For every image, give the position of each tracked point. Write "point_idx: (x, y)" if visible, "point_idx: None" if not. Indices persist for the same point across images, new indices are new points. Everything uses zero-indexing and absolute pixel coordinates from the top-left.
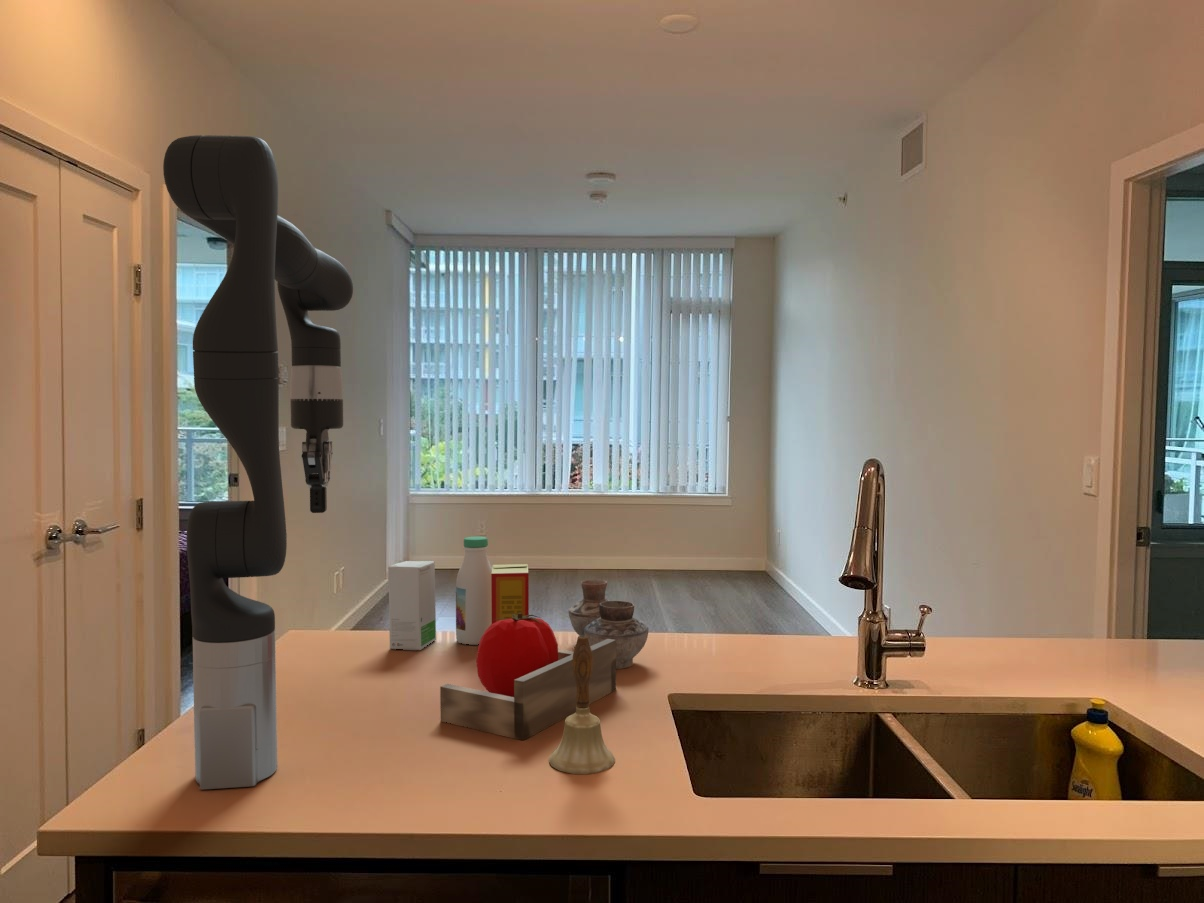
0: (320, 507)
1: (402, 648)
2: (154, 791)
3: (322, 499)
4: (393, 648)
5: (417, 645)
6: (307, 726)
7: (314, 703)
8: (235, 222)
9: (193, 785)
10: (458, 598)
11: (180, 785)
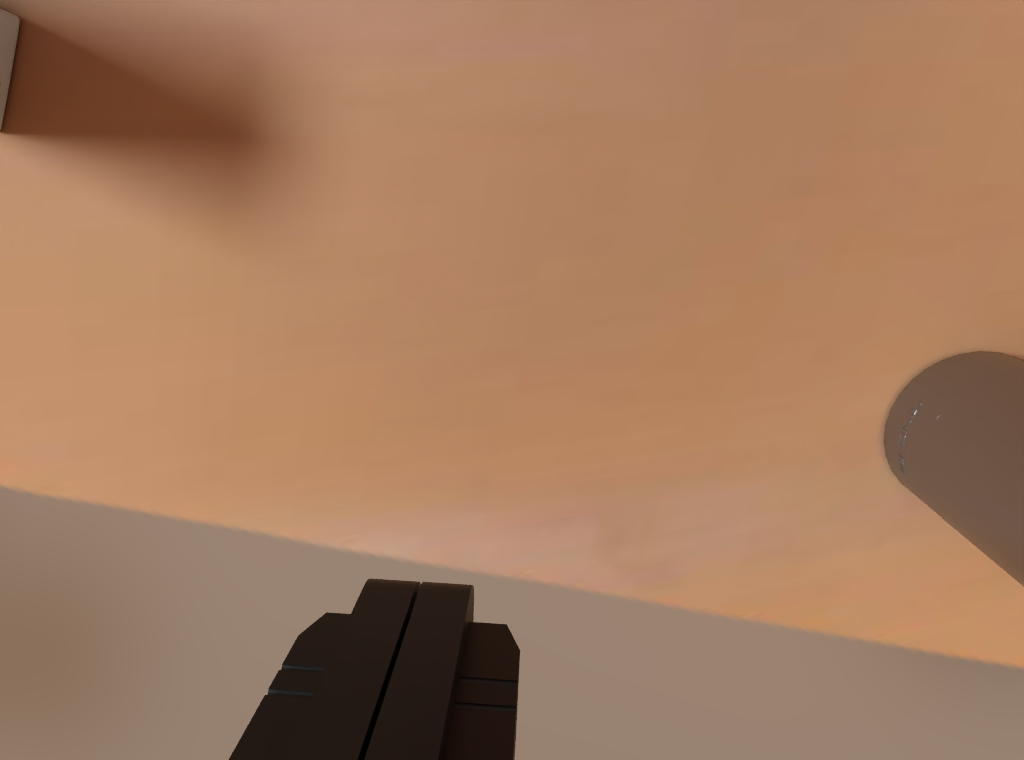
0: (516, 651)
1: (7, 84)
2: None
3: (457, 699)
4: (2, 118)
5: (6, 24)
6: (705, 317)
7: (526, 319)
8: None
9: None
10: None
11: None
